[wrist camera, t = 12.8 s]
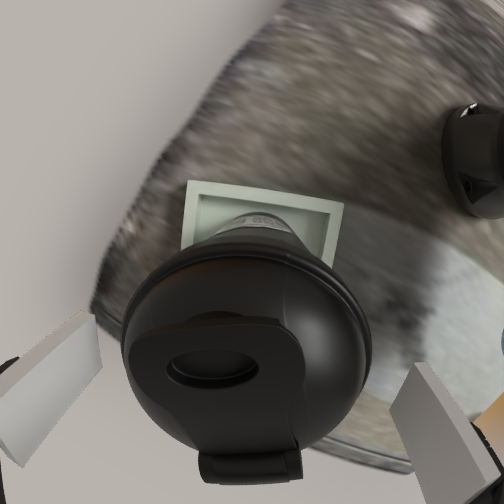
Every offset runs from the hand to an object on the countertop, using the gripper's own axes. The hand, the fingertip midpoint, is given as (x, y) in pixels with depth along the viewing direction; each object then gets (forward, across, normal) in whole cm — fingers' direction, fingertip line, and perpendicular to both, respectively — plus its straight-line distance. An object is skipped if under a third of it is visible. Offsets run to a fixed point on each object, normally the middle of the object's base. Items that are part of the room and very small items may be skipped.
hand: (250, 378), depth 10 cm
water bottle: (+20, -1, 0) cm, 20 cm away
